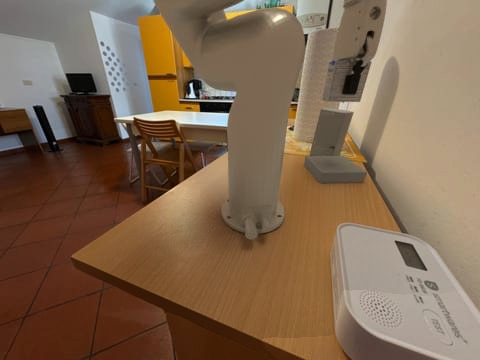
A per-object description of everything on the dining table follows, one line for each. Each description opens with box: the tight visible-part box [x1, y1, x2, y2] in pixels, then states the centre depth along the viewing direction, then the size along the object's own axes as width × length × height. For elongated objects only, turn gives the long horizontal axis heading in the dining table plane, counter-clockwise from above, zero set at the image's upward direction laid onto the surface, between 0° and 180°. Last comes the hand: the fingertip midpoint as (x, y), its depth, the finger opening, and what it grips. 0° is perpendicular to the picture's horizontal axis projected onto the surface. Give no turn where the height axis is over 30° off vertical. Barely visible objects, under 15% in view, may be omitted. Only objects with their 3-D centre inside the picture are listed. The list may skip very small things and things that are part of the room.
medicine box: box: [321, 60, 372, 103], centre depth 46 cm, size 8×4×9 cm, turn 86°
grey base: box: [303, 155, 368, 184], centre depth 56 cm, size 12×12×3 cm
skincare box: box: [309, 107, 354, 156], centre depth 65 cm, size 8×7×16 cm
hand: (342, 92), depth 47 cm, fingers closed on medicine box, 4 cm apart
